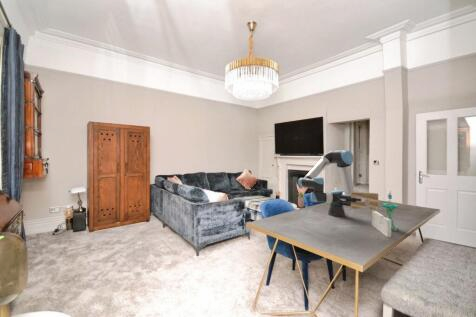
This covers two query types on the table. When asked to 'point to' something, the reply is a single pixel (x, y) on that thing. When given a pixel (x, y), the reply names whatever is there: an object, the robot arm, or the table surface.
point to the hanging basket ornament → (390, 211)
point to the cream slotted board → (381, 223)
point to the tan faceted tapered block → (369, 197)
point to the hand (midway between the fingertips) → (364, 199)
